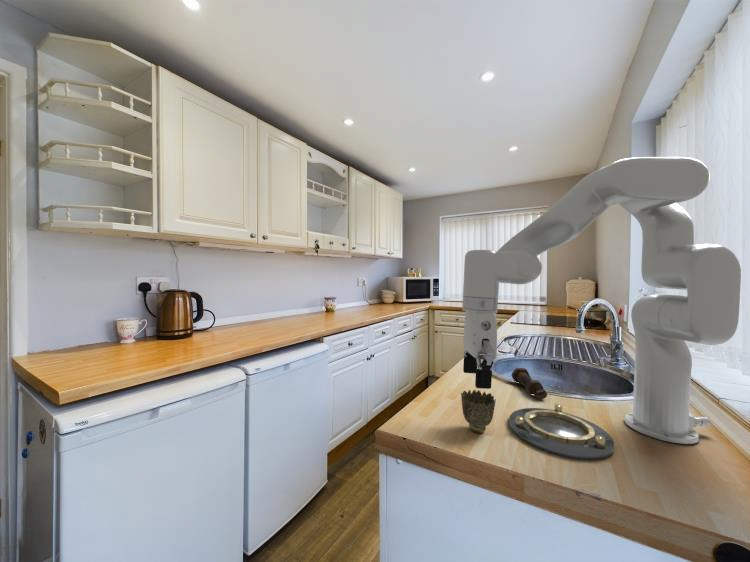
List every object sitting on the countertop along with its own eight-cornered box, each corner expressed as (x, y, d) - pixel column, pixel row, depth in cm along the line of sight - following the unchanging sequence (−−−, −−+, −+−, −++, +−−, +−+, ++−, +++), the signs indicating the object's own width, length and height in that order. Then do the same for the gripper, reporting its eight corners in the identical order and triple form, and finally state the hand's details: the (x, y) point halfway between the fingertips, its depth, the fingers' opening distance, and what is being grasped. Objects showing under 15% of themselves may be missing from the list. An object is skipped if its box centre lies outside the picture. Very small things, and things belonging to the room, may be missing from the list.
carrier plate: (574, 413, 78) (575, 401, 78) (640, 462, 58) (640, 445, 58) (496, 411, 79) (496, 399, 79) (534, 458, 59) (534, 442, 59)
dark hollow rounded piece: (497, 441, 65) (498, 404, 64) (461, 436, 66) (462, 400, 66) (491, 424, 72) (492, 391, 72) (459, 420, 73) (460, 388, 73)
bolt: (538, 407, 86) (517, 386, 101) (555, 399, 86) (530, 379, 101) (529, 389, 86) (508, 371, 101) (545, 381, 86) (522, 364, 101)
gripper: (512, 310, 60) (508, 396, 60) (484, 302, 77) (480, 368, 77) (474, 308, 60) (470, 394, 60) (454, 300, 77) (451, 367, 77)
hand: (476, 379), depth 69 cm, fingers open, 9 cm apart
